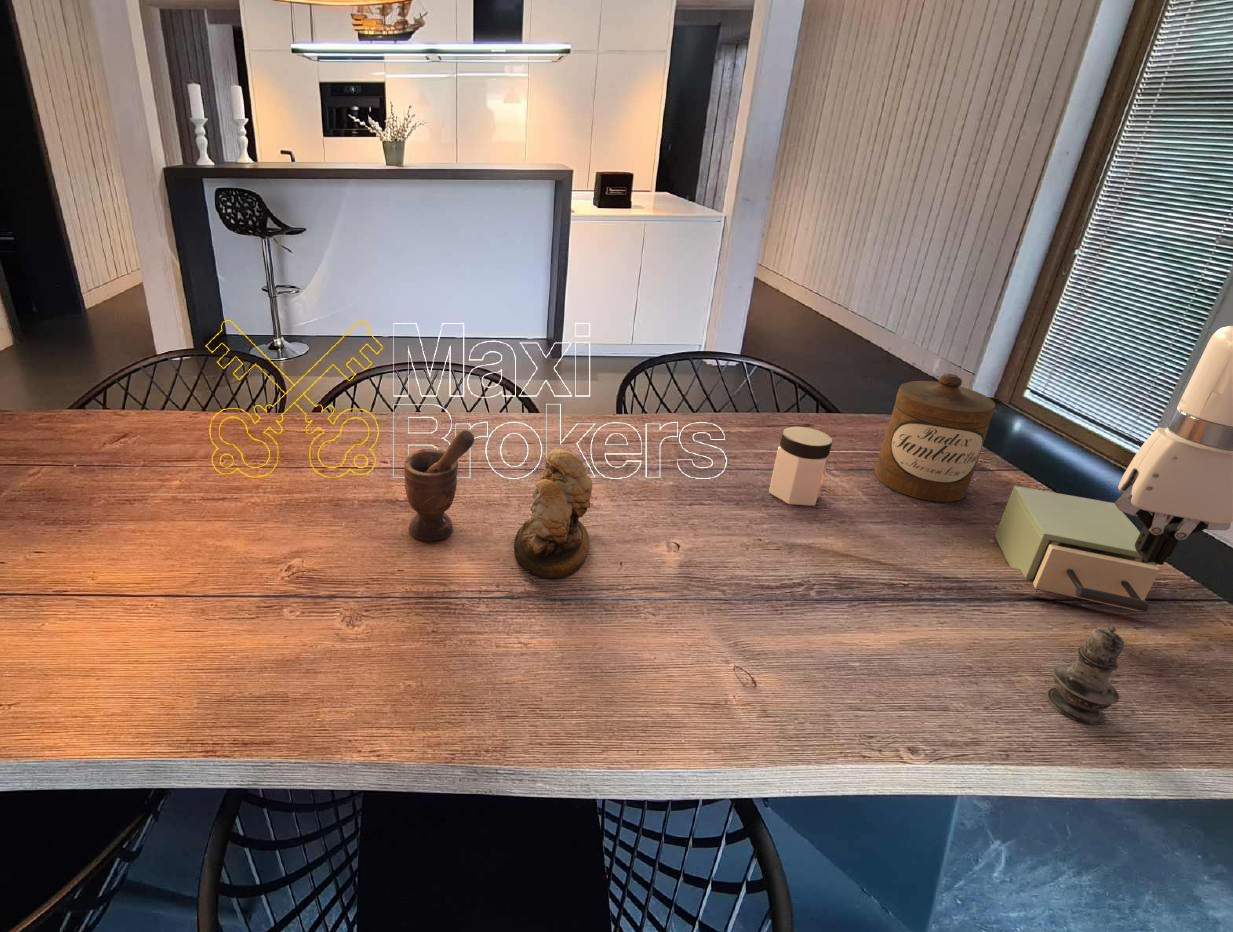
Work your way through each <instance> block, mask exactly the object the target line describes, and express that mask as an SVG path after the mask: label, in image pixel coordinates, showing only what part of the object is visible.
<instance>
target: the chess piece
mask: <svg viewBox="0 0 1233 932" xmlns="http://www.w3.org/2000/svg"><path fill="white" fill-rule="evenodd" d="M1124 648H1125V641H1124V639H1123V638H1122V637H1121V636H1120V635H1119V634H1118V633H1117V629H1116V627H1115V626H1113V625H1112V626H1108V628H1103V627H1102V628H1101V627H1100V628H1099V627H1098V628H1095V629H1093V630H1092V631H1091V632H1090V634H1089V636H1088V638H1087V640H1086V643H1085V644H1084V646H1080V647H1079V648H1077V651H1076V652H1077V655H1078V657H1077V659H1076V661H1075V663H1074V664H1058V665H1056V666H1054V667H1053V669H1052V675H1053V685H1054V687H1052V688H1049V689H1047V691H1046V692H1045V698H1046V700H1047V702H1048V703H1049V704H1050V705H1051V707H1052V708H1053V709H1055V710H1056V711H1057V712H1058V713H1060V714H1062V715H1063V716H1065V717H1067V718H1069V719H1071V720H1073V721H1075V722H1078V723H1081V724H1083V725H1092V726H1097V725H1100V724H1102V723H1103V722H1104V721H1105V714H1104V713H1103V710H1106V709H1107V708H1110V707H1111V706H1112V705H1115V704H1117V703H1118V702H1119V700H1120V694H1119V692H1118V690H1117V688H1116V687H1114V685H1113V684H1112V683H1111V682H1109V679H1110V677H1111V675H1112V673H1113V672H1115V671H1117V670H1118V669H1119V668H1120V666H1119V663H1118V659H1119V657H1120V655H1121V653H1122V651H1123V649H1124Z"/></svg>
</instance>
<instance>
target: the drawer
mask: <svg viewBox="0 0 1233 932" xmlns="http://www.w3.org/2000/svg"><path fill="white" fill-rule="evenodd" d="M1141 561H1142V558H1138V557H1133V556H1128V555H1123V554H1118V553H1113V552H1107V551H1102V550H1097V549H1092V548H1087V547H1082V546H1077V545H1072V544H1067V543H1062V542H1057V541H1052V540H1049V543H1048V545H1047V547H1046V550H1045V552H1044V554H1043V557H1042V559H1041V562H1040V564H1039V566H1038V569H1037V571H1036V573H1035V576H1034V579H1033V583H1032V586H1033V587H1034V589H1036V590H1039V591H1045V592H1050V593H1055V594H1059V595H1062V596H1063V595H1064V596H1068V597H1073V598H1077V599H1082V600H1087V601H1090V602H1095V603H1099V604H1104V605H1108V606H1112V607H1117V608H1122V609H1127V610H1130V611H1136V612H1139V611H1141V612H1144V613H1145V612H1148V611H1149V609H1150V604H1149V601H1147V600H1146V599H1147V596H1148V594H1149V592H1150V591H1151V588H1152V586H1153V585H1154V582H1155V580H1156V578H1157V577H1158V575H1159V573H1160V569H1159V567H1158V565H1151V564H1146V563H1141Z"/></svg>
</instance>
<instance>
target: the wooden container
mask: <svg viewBox="0 0 1233 932" xmlns="http://www.w3.org/2000/svg"><path fill="white" fill-rule="evenodd" d="M962 384H963V379H962V378H961V377H959V375H956V374H953V373H946V374H942V375H941V376H939V377H938V381H931V380H914V381H908V382H904V383H902V384H901V385H900V386H899V388H898V390H897V394H896V397H895V403H894V407H893V410H892V413H891V416H890V418H889V423H888V426H887V428H886V431H885V435H884V438H883V440H882V444H881V447H880V450H879V456H878V458H877V460H876V461H877V462H876V465H875V469H874V474H875V477H876V478H877V479H878V480H879V481H880V482H881V483H882V484H884V485H885V486H887V487H889V488H890V489H892V490H894V491H896V492H898V493H900V494H903V495H906V496H909V497H912V498H915V499H920V500H925V501H929V502H937V503H938V502H939V503H948V502H949V503H950V502H956V501H960V500H962V499H963V498H965V496H966V494H967V492H968V489H969V487H970V484H971V481H972V478H973V476H974V473H975V472H976V471H975V470H976V468H977V465H978V463H979V460H980V459H979V458H980V455H981V452H982V449H983V446H984V443H985V439H986V436H987V433H988V430H989V427H990V422H991V421H992V417H993V415H994V412H995V409H996V404H995V401H994V400H992V398H990V397H989V396H987V395H985V394H983V393H981V392H978V391H976V390H973V389H970V388H968V387H964V386H962Z"/></svg>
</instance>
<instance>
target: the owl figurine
mask: <svg viewBox="0 0 1233 932" xmlns="http://www.w3.org/2000/svg"><path fill="white" fill-rule="evenodd" d="M586 469H587V468H586V466H585V465H584V463H583V461H582V460H581V459H580V458H579V457H578V456H577V455H576V454H574V453H573V452H570V451H568V450H566V449H564V448H556V449H552V450H551V451H549V452H548V455H547V456H546V458H545V464H544V469H543V470H542V473H541V474H540V477H539V480H538V481H537V482H536V484H535V486H534V489H533V491H532V499H533V502H531V503H530V505H529V509H530V511H531V518H529V519H527V520H526V521H525V522H524V523H523V524H522V525H521V526H520V528H519V529H518V531H517V532H516V534H515V536H514V537H515V538H514V542H513V552H514V556H515V559H516V561H517V563H518V564H519V566H521V568H523V569H524V570H525V572H527V573H529V574H530V575H532V576H535V577H538V578H541V579H546V580H557V579H564V578H567V577H569V576H571V575H573V574H575V573H576V572H577V571H578V570H579V569H580V568H581V567H582V566H583V565H584V563H585V562H586V559H587V557H588V554H589V548H590V537H589V533H588V530H587V529H586V527H585V525H584V524H583V523H582V522H581V521H580V518H583V517H584V515H585V514H586V513H587V511H588V509H589V508H591V497H592V491H593V480H592V478H591V477H590V476H589V475H588V473H587V470H586Z"/></svg>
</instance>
